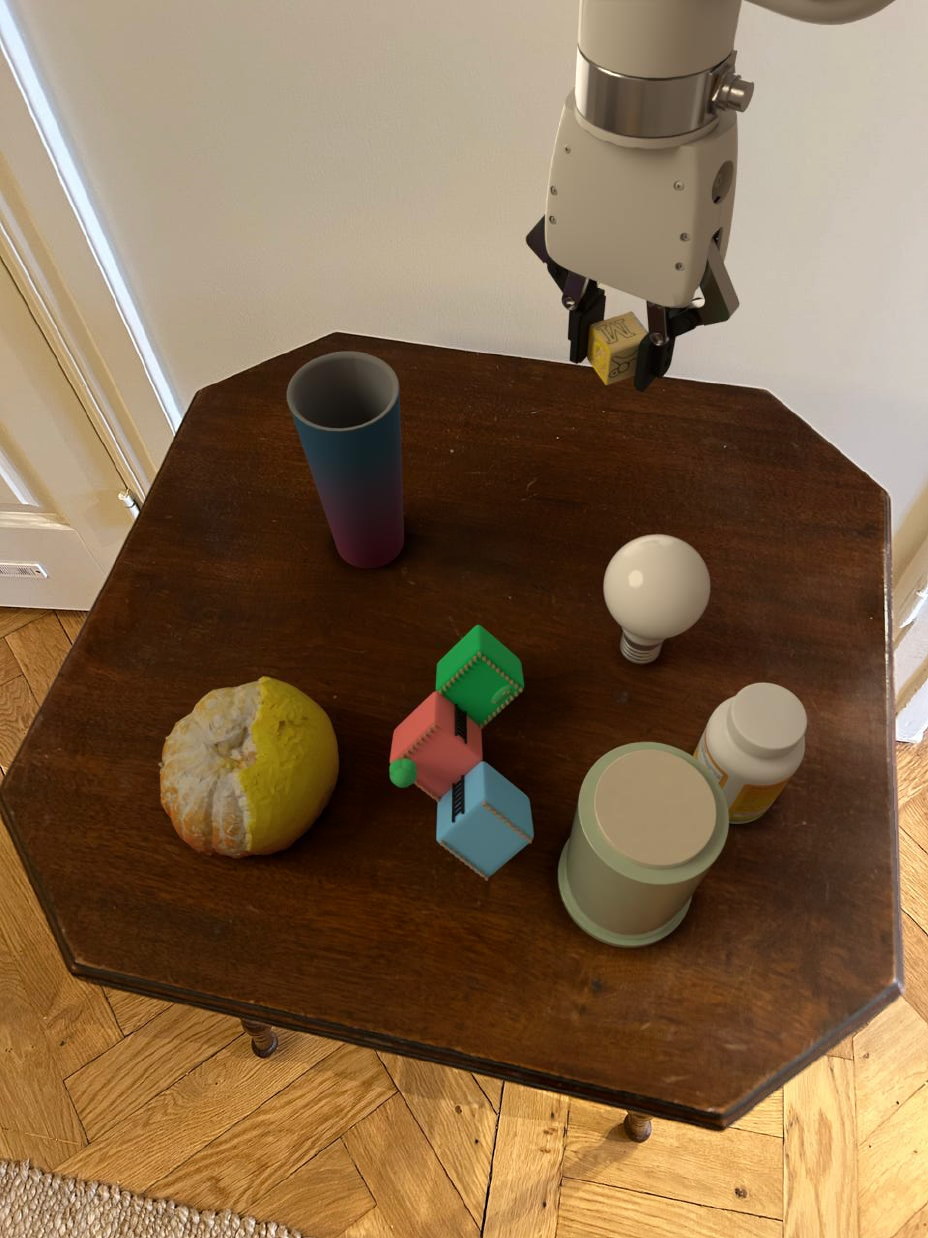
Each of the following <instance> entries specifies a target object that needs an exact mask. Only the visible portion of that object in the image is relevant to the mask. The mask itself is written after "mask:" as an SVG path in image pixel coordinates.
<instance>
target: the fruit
mask: <svg viewBox="0 0 928 1238" xmlns="http://www.w3.org/2000/svg"><path fill="white" fill-rule="evenodd" d="M161 753H162V754H161V759H162V760H161V761H162V762H161V761H160V762H158V763H157V765H158V766H159V767H160V769H159V775H160V776H159V788H160V795H159V796H160V804H161V806H162V808H163V810H164V811H165V813H166V815H168V817H169V818H170V820H171V823H172V826H173V828H174V830H175V831H176V834H177V835H178V836H179V838H180V839H181V840H182V841H184V842H185V843H187V844H188V845H189V846H190V847H191V848H192V849H193V850H194V851H196V852H198V853H203V854H205V855H206V856H211V855H213V854H214V853H216V854H219V855H220V856H228V857H231V858H233V859H241V858H246V857H250V856H254V855H255V856H260V855H261V856H269V855H271V856H272V855H273V854H274V853H277V852H281V851H286V850H287V849H290V847H291V846H293V844H294V842H296V841H297V840H299V839H300V838H301V837H302V836H304V835H305V834H306V833H307V832H308V831H309V830H311V828H312V827H313V826H314V825H315V822H316V821H317V820H318V819H319V818H320V816H321V815H322V813H323V810H324V809H325V807H327V805H328V804H329V803H330V800H331V799H332V797H333V794H334V791H335V789H336V785H337V782H338V777H339V773H340V757H339V756H340V754H339V745H338V740H337V736H336V733H335V730H334V727H333V724H332V721H331V719H330V717H329V716H328V714H327V712H326V711H325V710H324V709H323V708H322V707H321V706H320V705H319V704H318V703H317V702H316V701H315V700H313V699H312V698H311V697H310V696H308V695H307V694H306V693H305V692H303V691H301V690H300V689H299V688H297V687H295V686H294V685H292V684H290V683H288V682H284V681H282V680H279V679H277V678H273V677H270V676H266V675H265V676H262V677H260V678H258V680H256V681H250V682H247V683H244V684H243V683H242V684H241V685H238V686H233V687H231V686H230V687H229V686H228V687H223V688H217V689H212V690H211V691H209V692H208V693H207V694H205V695H204V696H203V697H201V699H200V700H199V701H198V702H197V703H195V706H194V708H193V710H192V711H191V712H190V713H189V714H187V715H186V716H184V717H183V718H181V719H180V720H179V721H177V722H175V724H174V726H173V728H172V731H171V732H170V734H169V735H168V736H165V742H164V744H163V748H162V752H161Z"/></svg>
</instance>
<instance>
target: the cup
mask: <svg viewBox="0 0 928 1238" xmlns="http://www.w3.org/2000/svg"><path fill="white" fill-rule="evenodd" d="M400 390H401V389H400V382H399V378H398V376H397V374H396V372H395V371H394V370H393V368H392V367H391V366H390V365H389V364H388V363H387V362H386V361H384V360H382V359H381V358H378V357H377V356H375V355H371V354H370V353H365V352H360V351H336V352H331V353H327V354H323V355H321V356H319V357H316V358H314V359H311V360H310V361H309V362H307V363H305V364H304V365H302V366H301V367H300V368H299V369H298V370H297V371H296V372H295V373H294V374H293V375H292V377H291V379H290V381H289V382H288V385H287V390H286V402H287V405H288V408H289V411H290V414H291V417H292V419H293V423H294V425H295V428H296V432H297V434H298V437H299V438H298V439H299V440H300V443H301V446H302V449H303V452H304V455H305V458H306V462H307V463H308V467H309V469H310V473H311V475H312V479H313V482H314V484H315V489H316V491H317V493H318V497H319V499H320V502H321V505H322V508H323V511H324V515H325V517H326V520H327V523H328V526H329V529H330V532H331V535H332V537H333V541H334V543H335V547H336V549H337V552H338V554H339V556H340V558H341V559H342V560H344V561H345V562H346V563H347V564H349V565H351V566H353V567H356V568H358V569H359V568H360V569H377V568H380V567H383V566H385V565H389V564H390V563H391V562H392V561H394V560H395V559H396V558H397V557H398V556H399V555H400V553H401V551H402V549H403V547H404V545H405V544H404V543H405V526H404V493H403V491H404V489H403V459H402V457H403V456H402V430H401V429H402V427H401V394H400V393H401V392H400Z"/></svg>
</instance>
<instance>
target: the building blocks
mask: <svg viewBox="0 0 928 1238" xmlns="http://www.w3.org/2000/svg"><path fill="white" fill-rule="evenodd" d="M524 689H525V681H524V674H523V665H522V662H521V660H520V659H519V657H518V656H516V655H515V653H513V652H512V651H511V650H510V649H508V647H507V646H505V645H504V644H503V643H502V642H501V641H500V640H498V638H496V637H495V636H494V635H492V634H491V633H490V632H489V631H488V630H487V629H486V628H485V627H483V626H482V625H480V624H476V625H475V626H474V627H472V628H471V630H469V631H468V633H466V634H465V635H464V636H463V638H461V639H460V640H459V641H458V642H457V643H456V644H455V645H453V647H452V648H451V649H450V650H449V651H448V652H447V653H446V654H445V655H444V656H443V657H442V658H441V659H440V660H439V661H438V662H437V663H436V674H435V691H433V692H431V694H430V695H429V696H428V697H426V699H424V700H423V701H422V702H421V703H420V704H419V705H417V707H416V708H415V709H414V710H413V711H412V712H411V713H410V714H409V715H408V716H407V717H406V718H405V719H404V720H403V721H402V722H401V723H400V724H399V725H397V726H396V728H395V729H394V730H393V734H392V741H391V749H390V754H389V755H390V756H389V764H390V765H389V767H388V768H389V769H388V770H389V779H390V781H391V783H393V785H395V786H396V787H398V788H402V789H403V788H408V787H410V786H411V785H413V784H414V785H415V786H416V787H417V788H419V789H421V791H422V792H425V793H426V795H427V796H429V797H431V799H433V800H435V801H436V803H437V807H436V809H437V811H436V833H435V834H436V837H435V839H436V841H437V843H438V844H439V846H440V847H443V848H444V850H446V851H448V852H449V854H450V855H454V857H455V858H457V859H459V861H460V862H463V863H464V866H468V867H469V869H470V870H473V871H474V873H475V874H477V875H479V877H480V878H484V881H486V882H487V881H489V878H490V877H491V876H492V875H494V874H495V873H496V872H498V871H499V870H500V869H501V868H502V867H503V866H504V865H505V864H506V863H508V862H509V861H510V860H511V859H512V858H513V857H515V856H516V855H517V854H518V853H519V852H520V851H522V850H523V849H524V848H525V847H526V846H527V845H529V844H532V843H533V842H532V841H533V840H534V836H535V833H534V823H533V817H532V809H531V802H530V799H529V797H528V795H526V793H524V792H523V791H521V789H519V788H518V787H517V786H515V785H514V784H513V783H512V782H511V781H509V780H508V779H507V778H506V777H504V775H503V774H501V773H500V772H499V771H498V770H496V769H495V768H494V767H493V766H491V765H490V764H489V763H488V762H486V761H483V738H482V737H483V736H482V730H483V729H484V727H485V726H487V725H488V723H490V722H491V721H492V720H493V719H494V718H496V717H497V715H498V714H500V713H501V712H502V710H504V709H505V708H506V707H507V706H508V705H510V703H511V702H512V701H514V699H515V698H517V697H518V696H519V695H520V694H521V693H522V692H523V691H524Z"/></svg>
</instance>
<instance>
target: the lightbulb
mask: <svg viewBox="0 0 928 1238" xmlns="http://www.w3.org/2000/svg"><path fill="white" fill-rule="evenodd" d="M602 585H603V586H602V588H603V590H602V591H603V597H604V601H605V605H606V607H607V610H608V611H609V614H610V615H611V616H612V618H613V619H614V620H615V622H616V623H617V624H618V625H619V626H620V627H621V629H622V634H621V637H620V643H619V650H620V652H621V654H622V656H623V657H624V658H625V659H626V660H627V661H629V662H631V663H633V664H636V665H648V664H651V663H653V662H655V661H656V660H657V658H658V657H659V655H660V653H661V649H662V646H663V643H664V641H665V640H667V639H670V638H674V637H677V636H679V635H681V634H684V632H686V631H688V630H689V629H691V628H692V627H693V626H694V625H695V624H696V623H697V622H698V621H699V620H700V619H701V617H702V616H703V614H704V612H705V611H706V609H707V606H708V604H709V601H710V597H711V587H712V586H711V576H710V573H709V569H708V566H707V564H706V562H705V561H704V558H703V557H702V556H701V555H700V553H699V552H698V551H697V550H696V549H695V548H694V547H693V546H692V545H690V544H689V543H688V542H687V541H684V540H683V539H681V538H678V537H675V536H673V535H668V534H662V533H654V534H653V533H652V534H646V535H642V536H638V537H637V538H634V539H632V540H630V541H628V542H627V543H625V544H624V545H623V546H621V547H620V549H618V550H617V551H616V552H615V554H614V555H613V556H612V558H611V559H610V561H609V562H608V564H607V567H606V569H605V574H604V576H603V584H602Z"/></svg>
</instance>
